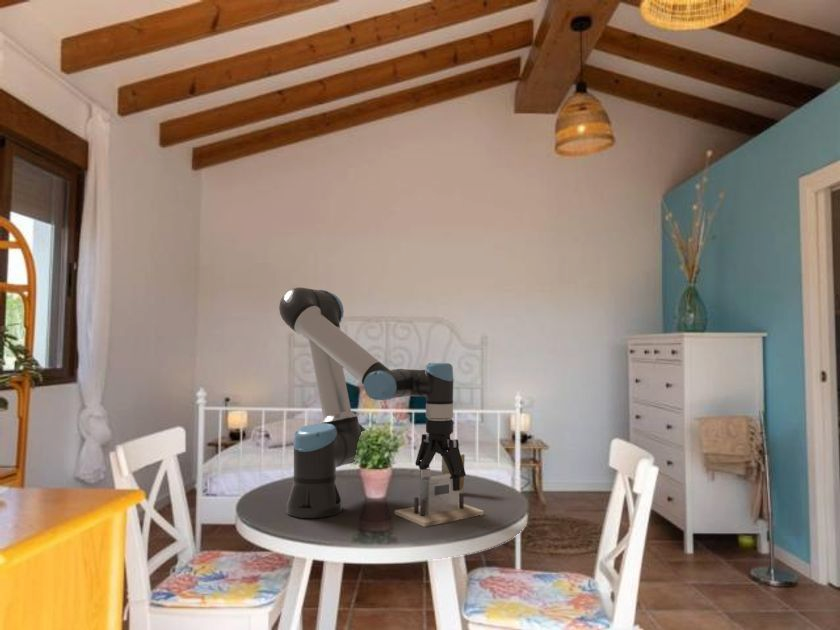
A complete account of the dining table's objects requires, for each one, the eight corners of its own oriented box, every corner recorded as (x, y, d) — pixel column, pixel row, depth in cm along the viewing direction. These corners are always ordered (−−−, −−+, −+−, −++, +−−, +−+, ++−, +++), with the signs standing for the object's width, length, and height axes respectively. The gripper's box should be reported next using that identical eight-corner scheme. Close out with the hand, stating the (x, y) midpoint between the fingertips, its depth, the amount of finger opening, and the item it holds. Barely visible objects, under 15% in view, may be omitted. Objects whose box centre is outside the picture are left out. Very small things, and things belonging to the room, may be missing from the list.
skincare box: (440, 493, 187) (440, 454, 187) (446, 490, 190) (446, 451, 191) (459, 495, 184) (459, 455, 184) (464, 492, 187) (464, 453, 188)
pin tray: (424, 526, 151) (424, 506, 152) (394, 514, 163) (394, 495, 163) (483, 514, 163) (483, 496, 163) (452, 503, 174) (452, 486, 175)
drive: (428, 514, 158) (429, 480, 159) (419, 511, 162) (420, 477, 162) (458, 509, 164) (458, 476, 165) (448, 505, 167) (448, 473, 168)
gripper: (478, 422, 156) (478, 505, 155) (424, 413, 177) (424, 487, 175) (456, 424, 152) (456, 509, 151) (403, 415, 172) (403, 490, 171)
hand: (439, 497), depth 163 cm, fingers open, 12 cm apart
